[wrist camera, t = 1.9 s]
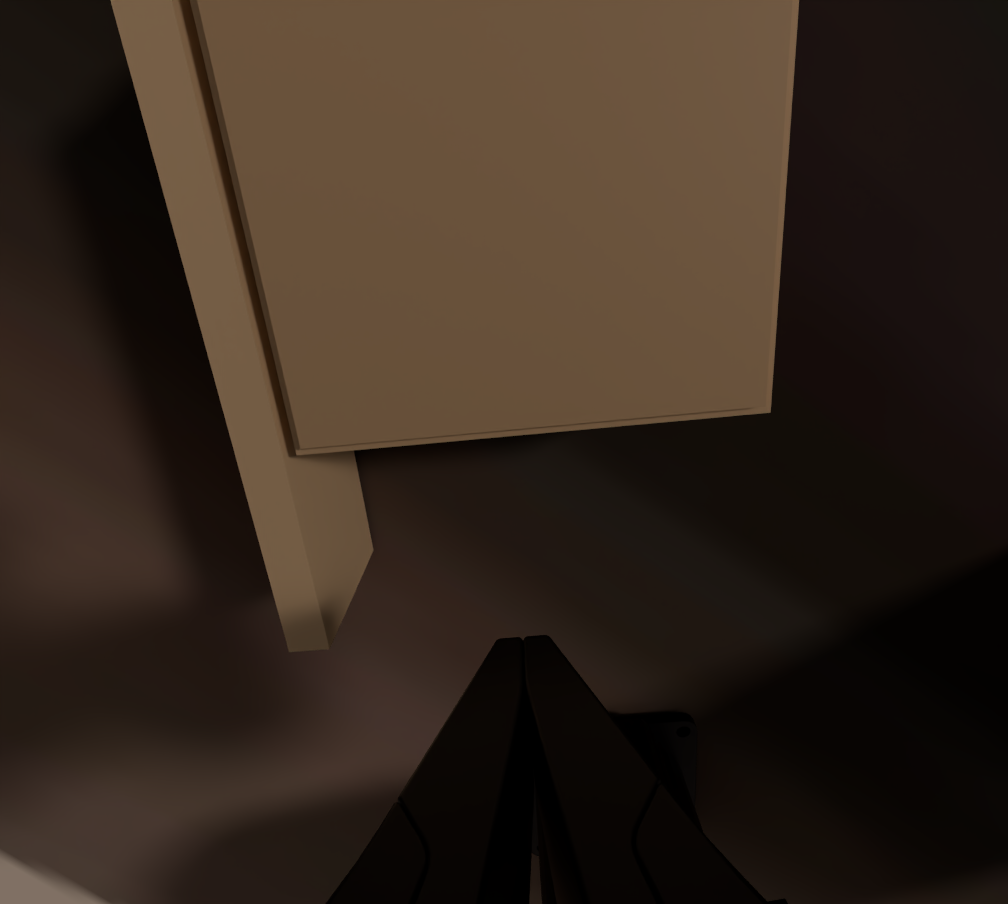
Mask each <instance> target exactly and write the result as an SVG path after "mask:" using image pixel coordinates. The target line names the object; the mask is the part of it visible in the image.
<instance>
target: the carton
mask: <svg viewBox="0 0 1008 904" xmlns="http://www.w3.org/2000/svg"><path fill="white" fill-rule="evenodd" d="M190 3H191V7H192V11H193V15H194V20H195V24H196V28H197V33H198V37H199V41H200V45H201V50H202V54H203V58H204V62H205V67H206V71H207V75H208V79H209V84H210V88H211V92H212V97H213V101H214V105H215V109H216V114H217V118H218V122H219V126H220V131H221V135H222V139H223V144H224V148H225V152H226V156H227V161H228V165H229V169H230V173H231V178H232V182H233V186H234V190H235V195H236V199H237V203H238V208H239V212H240V216H241V220H242V225H243V229H244V233H245V237H246V242H247V246H248V250H249V255H250V259H251V263H252V267H253V272H254V276H255V280H256V284H257V289H258V293H259V297H260V301H261V306H262V310H263V314H264V319H265V323H266V327H267V331H268V336H269V340H270V344H271V348H272V353H273V357H274V361H275V366H276V370H277V374H278V378H279V383H280V387H281V391H282V395H283V400H284V404H285V408H286V412H287V417H288V421H289V425H290V430H291V434H292V438H293V442H294V447H295V451H296V455H308V454H319V453H330V452H341V451H352V450H363V449H374V448H385V447H396V446H407V445H418V444H429V443H440V442H451V441H462V440H473V439H484V438H495V437H506V436H517V435H528V434H539V433H550V432H561V431H572V430H583V429H594V428H605V427H616V426H627V425H638V424H649V423H660V422H671V421H682V420H693V419H704V418H715V417H726V416H737V415H748V414H759V413H770V411H771V397H772V383H773V368H774V354H775V339H776V325H777V310H778V296H779V282H780V267H781V253H782V238H783V224H784V209H785V195H786V181H787V166H788V152H789V137H790V123H791V108H792V94H793V80H794V65H795V51H796V36H797V22H798V8H799V0H190Z"/></svg>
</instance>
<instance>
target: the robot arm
mask: <svg viewBox="0 0 1008 904" xmlns="http://www.w3.org/2000/svg"><path fill="white" fill-rule="evenodd" d="M683 726H684V728H680V727H683ZM679 728H680V729H679ZM696 755H697V728H696V725H695V723H694V720H693V718H692V717H691V716H690V715H689V714H686V713H668V714H655V715H642V716H629V717H615V718H612V716H611V715H610V714H609V713H608V711H607V710H606V709H605V707H604V706H603V705H602V704H601V702H600V701H599V700H598V698H597V697H596V696H595V695H594V693H593V692H592V691H591V689H590V688H589V687H588V685H587V684H586V683H585V682H584V680H583V679H582V678H581V676H580V675H579V674H578V673H577V671H576V670H575V669H574V667H573V666H572V665H571V664H570V662H569V661H568V660H567V658H566V657H565V656H564V655H563V653H562V652H561V651H560V649H559V648H558V647H557V646H556V644H555V643H554V642H553V640H552V639H551V638H550V637H549V636H547V635H539V636H527V637H525V638H524V640H522V639H521V638H520V637H514V638H501V639H498V640H497V641H496V642H495V644H494V645H493V647H492V648H491V650H490V652H489V653H488V655H487V656H486V658H485V660H484V661H483V663H482V664H481V666H480V668H479V669H478V671H477V672H476V674H475V676H474V677H473V679H472V680H471V682H470V684H469V685H468V687H467V688H466V690H465V692H464V693H463V695H462V696H461V698H460V700H459V701H458V703H457V705H456V706H455V708H454V709H453V711H452V713H451V714H450V716H449V717H448V719H447V721H446V722H445V724H444V725H443V727H442V729H441V730H440V732H439V733H438V735H437V737H436V738H435V740H434V741H433V743H432V745H431V746H430V748H429V749H428V751H427V753H426V754H425V756H424V757H423V759H422V761H421V762H420V764H419V765H418V767H417V769H416V770H415V772H414V773H413V775H412V777H411V778H410V780H409V781H408V783H407V785H406V786H405V788H404V789H403V791H402V793H401V794H400V796H399V797H398V802H396V803H394V805H393V806H392V808H391V810H390V811H389V813H388V814H387V816H386V818H385V819H384V821H383V823H382V824H381V826H380V827H379V829H378V830H377V832H376V833H375V835H374V836H373V838H372V839H371V841H370V842H369V844H368V845H367V847H366V848H365V850H364V851H363V853H362V854H361V856H360V857H359V859H358V860H357V862H356V863H355V865H354V866H353V867H352V869H351V870H350V871H349V873H348V874H347V875H346V877H345V878H344V880H343V881H342V882H341V884H340V885H339V886H338V888H337V889H336V890H335V892H334V893H333V894H332V896H331V897H330V898H329V900H328V901H327V902H326V904H529V895H530V874H531V853H533V854H535V855H537V856H539V863H540V880H541V896H542V904H788V903H787V901H786V899H785V898H784V899H779V900H774V901H768V902H767V901H766V900H765V899H764V898H763V897H762V896H761V895H760V894H759V893H758V891H757V890H756V889H755V888H754V887H753V886H752V885H751V884H750V883H749V882H748V881H747V880H746V879H745V878H744V877H743V876H742V875H741V874H740V873H739V872H738V870H737V869H736V868H735V867H734V866H733V865H732V864H731V863H730V862H729V861H728V860H727V859H726V857H725V856H724V855H723V854H722V853H721V852H720V851H719V850H718V849H717V848H716V847H715V846H714V845H713V843H712V842H711V841H710V840H709V839H708V838H707V837H706V835H705V834H704V833H703V831H702V828H701V825H700V822H699V819H698V816H697V813H696V811H695V789H696Z"/></svg>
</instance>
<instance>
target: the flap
mask: <svg viewBox="0 0 1008 904" xmlns="http://www.w3.org/2000/svg"><path fill="white" fill-rule="evenodd" d="M111 4H112V7H113V11H114V15H115V18H116V22H117V26H118V29H119V33H120V37H121V40H122V44H123V48H124V51H125V55H126V58H127V62H128V66H129V69H130V73H131V77H132V80H133V84H134V88H135V91H136V95H137V99H138V102H139V106H140V110H141V113H142V117H143V121H144V124H145V128H146V132H147V135H148V139H149V142H150V146H151V150H152V153H153V157H154V161H155V164H156V168H157V172H158V175H159V179H160V183H161V186H162V190H163V194H164V197H165V201H166V205H167V208H168V212H169V216H170V219H171V223H172V226H173V230H174V234H175V237H176V241H177V245H178V248H179V252H180V256H181V259H182V263H183V267H184V270H185V274H186V278H187V281H188V285H189V289H190V292H191V296H192V300H193V303H194V307H195V310H196V314H197V318H198V321H199V325H200V329H201V332H202V336H203V340H204V343H205V347H206V351H207V354H208V358H209V362H210V365H211V369H212V373H213V376H214V380H215V384H216V387H217V391H218V394H219V398H220V402H221V405H222V409H223V413H224V416H225V420H226V424H227V427H228V431H229V435H230V438H231V442H232V446H233V449H234V453H235V457H236V460H237V464H238V468H239V471H240V475H241V478H242V482H243V486H244V489H245V493H246V497H247V500H248V504H249V508H250V511H251V515H252V519H253V522H254V526H255V530H256V533H257V537H258V541H259V544H260V548H261V552H262V555H263V559H264V562H265V566H266V570H267V573H268V577H269V581H270V584H271V588H272V592H273V595H274V599H275V603H276V606H277V610H278V614H279V617H280V621H281V625H282V628H283V632H284V636H285V639H286V643H287V646H288V650H289V652H299V651H312V650H324V649H330V647H331V645H332V642H333V640H334V638H335V636H336V633H337V631H338V629H339V627H340V624H341V622H342V620H343V618H344V615H345V613H346V611H347V609H348V606H349V604H350V602H351V600H352V597H353V595H354V593H355V591H356V588H357V586H358V584H359V582H360V579H361V577H362V575H363V573H364V570H365V568H366V566H367V563H368V561H369V559H370V557H371V554H372V552H373V546H372V541H371V536H370V530H369V525H368V520H367V515H366V510H365V505H364V500H363V495H362V490H361V485H360V480H359V475H358V469H357V464H356V459H355V454H354V450H352V451H341V452H330V453H319V454H308V455H296V451H295V447H294V442H293V438H292V434H291V430H290V425H289V421H288V417H287V412H286V408H285V404H284V400H283V395H282V391H281V387H280V383H279V378H278V374H277V370H276V366H275V361H274V357H273V353H272V348H271V344H270V340H269V336H268V331H267V327H266V323H265V319H264V314H263V310H262V306H261V301H260V297H259V293H258V289H257V284H256V280H255V276H254V272H253V267H252V263H251V259H250V255H249V250H248V246H247V242H246V237H245V233H244V229H243V225H242V220H241V216H240V212H239V208H238V203H237V199H236V195H235V190H234V186H233V182H232V178H231V173H230V169H229V165H228V161H227V156H226V152H225V148H224V144H223V139H222V135H221V131H220V126H219V122H218V118H217V114H216V109H215V105H214V101H213V97H212V92H211V88H210V84H209V79H208V75H207V71H206V67H205V62H204V58H203V54H202V50H201V45H200V41H199V37H198V33H197V28H196V24H195V20H194V15H193V11H192V7H191V3H190V0H111Z"/></svg>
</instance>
